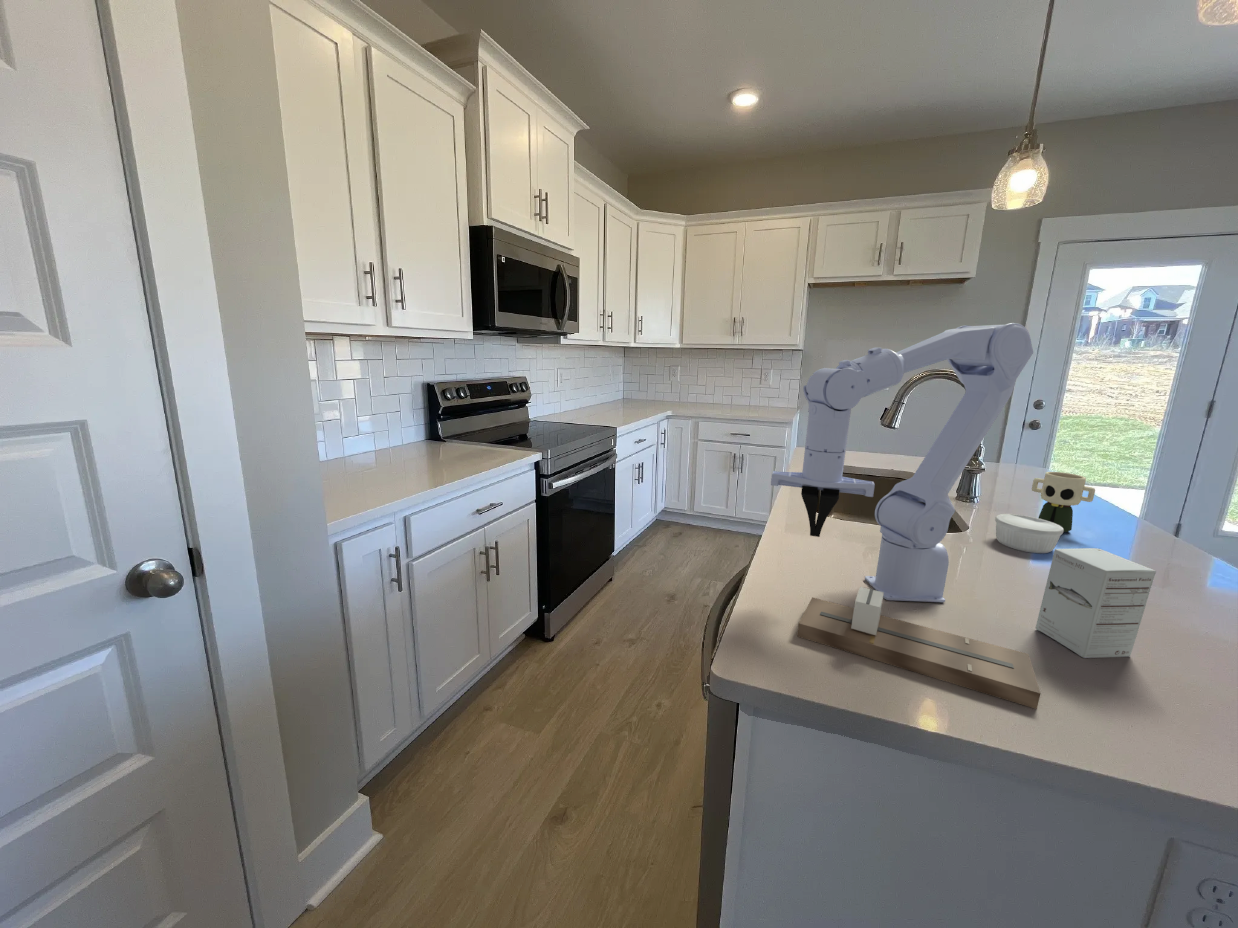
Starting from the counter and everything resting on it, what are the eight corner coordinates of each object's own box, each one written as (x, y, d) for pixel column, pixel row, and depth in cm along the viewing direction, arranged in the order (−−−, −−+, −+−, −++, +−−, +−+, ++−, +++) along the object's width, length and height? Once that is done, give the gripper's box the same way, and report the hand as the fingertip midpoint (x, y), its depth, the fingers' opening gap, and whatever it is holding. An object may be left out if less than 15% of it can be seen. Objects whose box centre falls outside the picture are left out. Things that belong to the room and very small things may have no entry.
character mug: (1019, 525, 119) (1030, 472, 116) (1028, 520, 123) (1040, 468, 121) (1079, 539, 111) (1093, 482, 108) (1087, 533, 115) (1101, 478, 112)
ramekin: (1053, 543, 108) (1058, 520, 107) (1063, 560, 99) (1069, 535, 98) (989, 532, 114) (994, 510, 113) (993, 547, 105) (998, 523, 104)
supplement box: (1032, 629, 73) (1051, 547, 71) (1079, 627, 74) (1100, 546, 71) (1082, 659, 66) (1105, 569, 63) (1133, 658, 67) (1159, 569, 64)
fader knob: (879, 618, 70) (883, 591, 69) (876, 635, 66) (880, 606, 65) (856, 612, 72) (860, 586, 71) (851, 628, 68) (855, 600, 67)
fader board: (1025, 667, 64) (1028, 653, 64) (1036, 708, 56) (1040, 692, 56) (810, 609, 77) (812, 596, 77) (797, 636, 70) (798, 622, 69)
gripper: (875, 449, 77) (863, 533, 80) (777, 440, 82) (769, 519, 85) (880, 457, 71) (867, 548, 74) (773, 448, 76) (765, 533, 79)
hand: (814, 534), depth 79 cm, fingers closed
